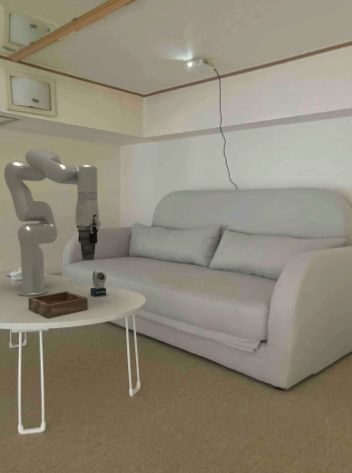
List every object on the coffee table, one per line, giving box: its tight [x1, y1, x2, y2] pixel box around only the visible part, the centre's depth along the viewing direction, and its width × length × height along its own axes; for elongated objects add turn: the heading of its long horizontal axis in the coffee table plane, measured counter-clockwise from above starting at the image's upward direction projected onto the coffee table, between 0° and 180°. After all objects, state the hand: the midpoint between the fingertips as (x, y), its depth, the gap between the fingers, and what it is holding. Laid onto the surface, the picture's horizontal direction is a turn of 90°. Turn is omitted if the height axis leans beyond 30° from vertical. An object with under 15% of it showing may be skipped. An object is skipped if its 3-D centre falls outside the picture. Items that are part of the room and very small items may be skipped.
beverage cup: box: [77, 224, 96, 261], centre depth 146 cm, size 7×7×20 cm
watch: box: [89, 269, 107, 298], centre depth 166 cm, size 6×8×11 cm
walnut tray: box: [28, 290, 89, 319], centre depth 143 cm, size 16×16×4 cm
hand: (87, 242), depth 147 cm, fingers closed on beverage cup, 7 cm apart
